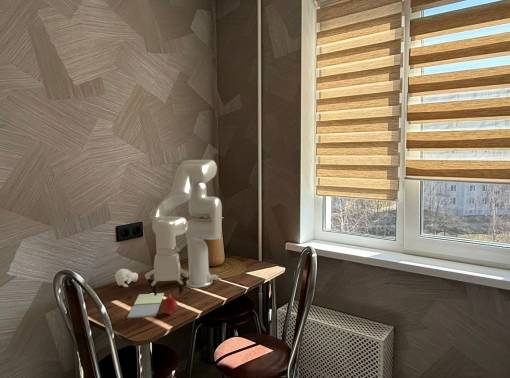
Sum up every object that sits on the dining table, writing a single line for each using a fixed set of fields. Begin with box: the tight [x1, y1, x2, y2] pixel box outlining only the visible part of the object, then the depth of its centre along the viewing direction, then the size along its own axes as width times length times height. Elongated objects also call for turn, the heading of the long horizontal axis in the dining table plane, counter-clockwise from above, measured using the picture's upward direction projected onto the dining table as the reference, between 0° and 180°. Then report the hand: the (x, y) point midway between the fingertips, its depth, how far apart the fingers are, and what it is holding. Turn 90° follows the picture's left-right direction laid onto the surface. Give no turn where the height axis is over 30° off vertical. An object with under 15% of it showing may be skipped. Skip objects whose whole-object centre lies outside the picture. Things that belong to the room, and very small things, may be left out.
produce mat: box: [133, 292, 165, 306], centre depth 173 cm, size 11×11×1 cm
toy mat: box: [126, 304, 161, 319], centre depth 161 cm, size 11×11×1 cm
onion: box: [161, 294, 178, 316], centre depth 157 cm, size 6×6×8 cm
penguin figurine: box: [114, 268, 139, 288], centre depth 193 cm, size 6×8×12 cm
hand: (168, 293), depth 155 cm, fingers open, 9 cm apart
